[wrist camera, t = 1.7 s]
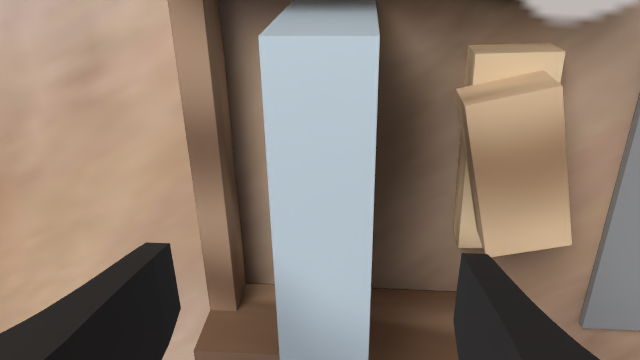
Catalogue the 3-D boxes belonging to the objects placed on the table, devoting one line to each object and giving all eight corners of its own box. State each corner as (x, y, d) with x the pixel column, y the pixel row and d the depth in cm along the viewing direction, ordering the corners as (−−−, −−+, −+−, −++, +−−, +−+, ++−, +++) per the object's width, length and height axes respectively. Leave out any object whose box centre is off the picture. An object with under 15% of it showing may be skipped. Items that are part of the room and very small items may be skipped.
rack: (515, 311, 24) (544, 387, 20) (223, 298, 25) (196, 369, 21) (594, -99, 17) (665, -106, 13) (175, -91, 18) (121, -95, 14)
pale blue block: (367, 251, 24) (368, 368, 17) (302, 248, 24) (279, 363, 18) (375, -1, 19) (379, 36, 13) (293, -1, 19) (258, 35, 13)
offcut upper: (554, 217, 20) (571, 244, 19) (476, 229, 21) (486, 258, 19) (543, 69, 18) (562, 85, 16) (456, 88, 19) (464, 106, 17)
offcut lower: (520, 223, 23) (533, 248, 21) (451, 223, 23) (458, 247, 21) (547, 39, 19) (565, 51, 18) (465, 42, 20) (475, 54, 18)
